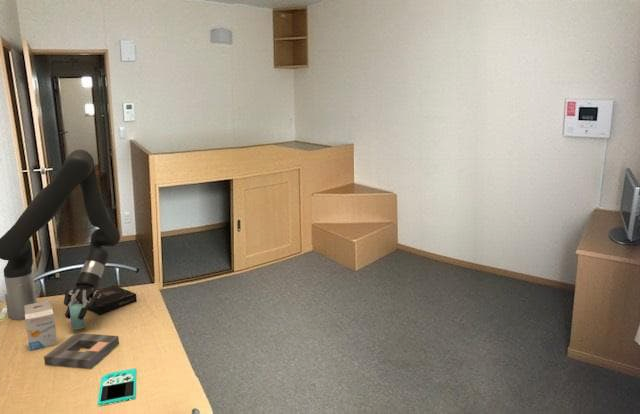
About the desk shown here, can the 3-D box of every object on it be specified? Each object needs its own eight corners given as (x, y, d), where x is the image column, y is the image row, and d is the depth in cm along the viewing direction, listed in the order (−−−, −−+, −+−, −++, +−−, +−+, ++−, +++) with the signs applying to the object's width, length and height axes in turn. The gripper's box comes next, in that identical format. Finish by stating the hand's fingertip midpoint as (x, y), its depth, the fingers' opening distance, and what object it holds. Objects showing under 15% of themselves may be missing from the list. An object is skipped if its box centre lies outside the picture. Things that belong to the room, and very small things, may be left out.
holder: (45, 364, 153) (43, 355, 152) (77, 340, 168) (76, 332, 168) (90, 368, 151) (89, 359, 150) (119, 343, 166) (118, 335, 165)
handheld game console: (136, 371, 150) (136, 367, 150) (136, 400, 135) (136, 396, 135) (102, 377, 147) (101, 373, 146) (97, 408, 132) (97, 403, 132)
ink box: (29, 351, 162) (23, 310, 158) (28, 345, 166) (22, 305, 162) (57, 344, 166) (52, 304, 163) (56, 338, 170) (51, 299, 167)
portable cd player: (113, 293, 211) (113, 284, 210) (136, 302, 201) (136, 293, 200) (77, 306, 198) (76, 297, 197) (99, 316, 188) (98, 307, 187)
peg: (68, 328, 174) (66, 308, 172) (76, 323, 178) (74, 303, 176) (80, 329, 173) (77, 309, 171) (87, 324, 177) (85, 304, 176)
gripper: (68, 269, 180) (49, 313, 171) (103, 272, 178) (86, 316, 169) (78, 278, 186) (61, 320, 177) (112, 280, 184) (97, 323, 175)
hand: (73, 318), depth 173 cm, fingers closed on peg, 4 cm apart
